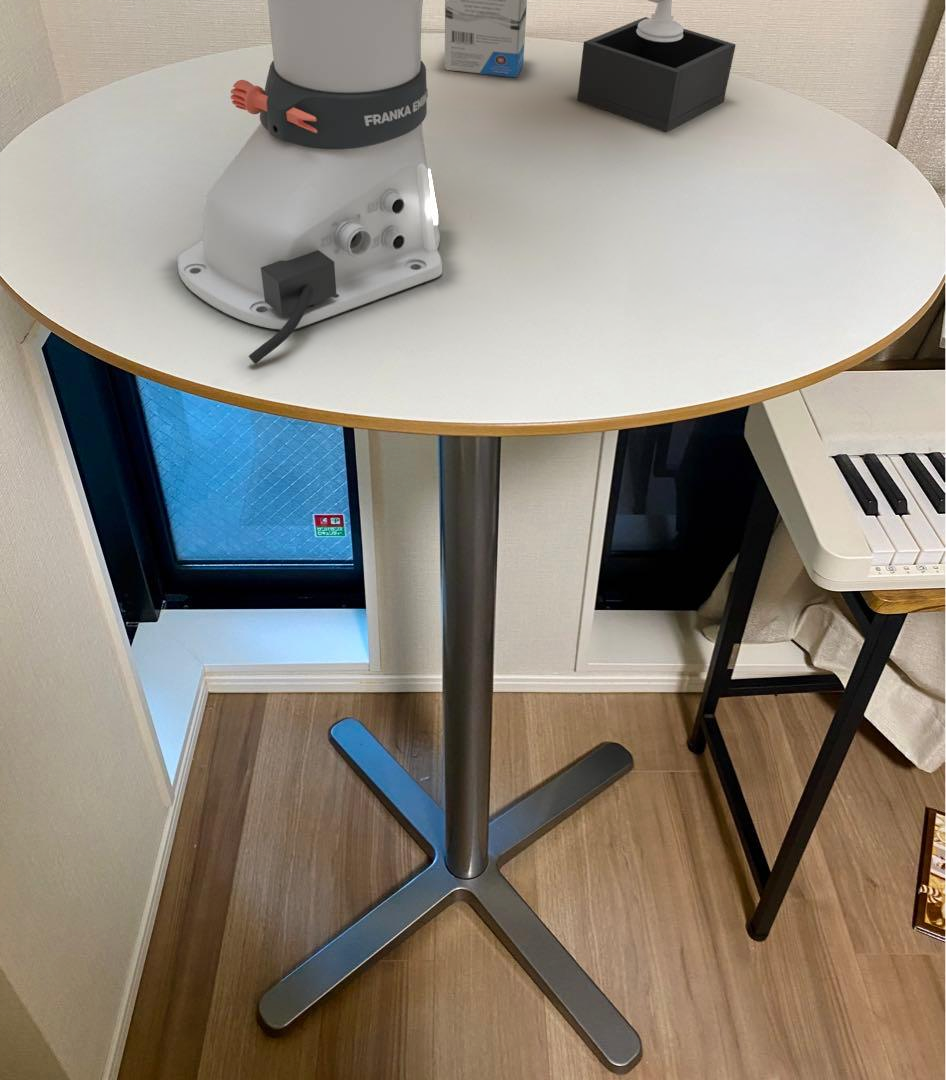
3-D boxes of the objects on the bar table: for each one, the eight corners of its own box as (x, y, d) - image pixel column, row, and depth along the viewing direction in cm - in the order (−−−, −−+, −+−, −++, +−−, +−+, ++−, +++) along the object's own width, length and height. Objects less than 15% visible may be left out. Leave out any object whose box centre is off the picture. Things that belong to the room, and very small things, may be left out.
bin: (666, 132, 103) (677, 72, 99) (577, 100, 108) (583, 41, 104) (723, 101, 109) (736, 44, 105) (636, 72, 114) (645, 16, 110)
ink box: (524, 64, 115) (533, -50, 107) (516, 79, 111) (524, -37, 103) (452, 55, 116) (455, -59, 108) (442, 70, 113) (444, -46, 104)
